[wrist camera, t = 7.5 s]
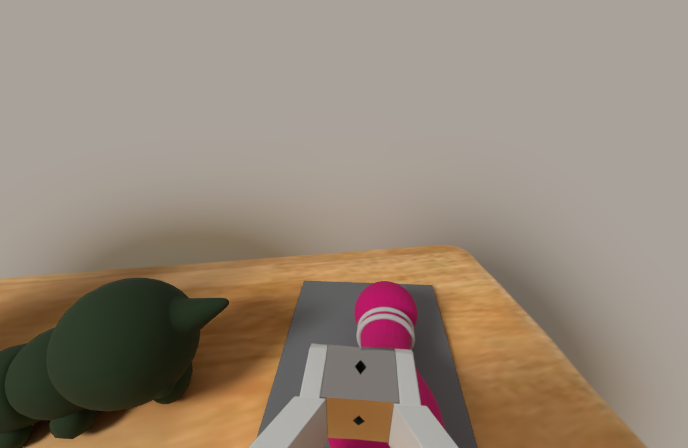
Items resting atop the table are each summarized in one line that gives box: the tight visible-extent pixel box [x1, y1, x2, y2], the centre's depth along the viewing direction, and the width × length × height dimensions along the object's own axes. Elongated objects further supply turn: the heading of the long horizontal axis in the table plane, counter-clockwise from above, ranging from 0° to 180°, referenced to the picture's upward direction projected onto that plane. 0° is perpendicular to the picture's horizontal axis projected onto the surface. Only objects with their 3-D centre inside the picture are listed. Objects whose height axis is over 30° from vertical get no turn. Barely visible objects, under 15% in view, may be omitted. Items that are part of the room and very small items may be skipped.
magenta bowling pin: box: [328, 281, 445, 448], centre depth 24 cm, size 7×7×20 cm
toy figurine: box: [0, 278, 229, 448], centre depth 22 cm, size 9×19×25 cm
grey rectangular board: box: [257, 281, 477, 448], centre depth 28 cm, size 22×16×1 cm
